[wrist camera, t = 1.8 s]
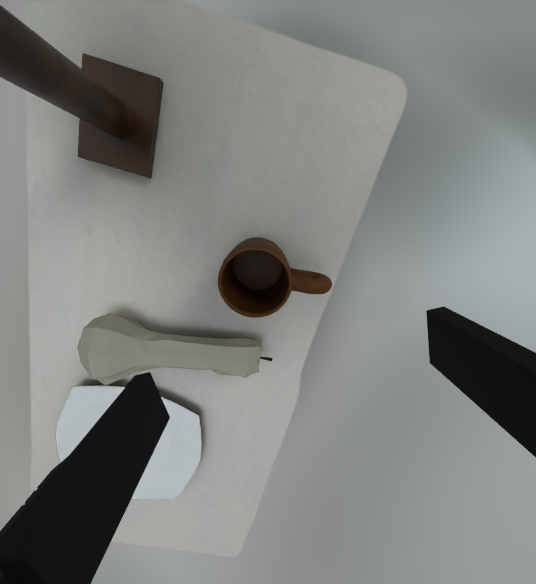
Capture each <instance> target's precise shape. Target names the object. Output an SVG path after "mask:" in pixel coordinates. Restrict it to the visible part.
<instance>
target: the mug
mask: <svg viewBox="0 0 536 584" xmlns="http://www.w3.org/2000/svg"><path fill="white" fill-rule="evenodd" d="M331 286H332V282H331V280H330V278H328V277H327V276H325V275H323V274H320V273H316V272H312V271H304V270H297V269H292V268H290V266H289V263H288V261H287V259H286V257H285V255H284V254H283V252H282V250H281V249H280V248H279V247H278V246H277V245H276V244H275V243H274V242H272V241H270V240H268V239H265V238H250V239H247V240H245V241H243V242H241V243H240V244H238V245H237V246H236V247H235V248H234V249H233V250H232V251H231V252H230V253H229V254H228V256H227V257H226V258H225V260H224V262H223V264H222V266H221V269H220V271H219V276H218V287H219V291H220V294H221V296H222V298H223V300H224V301H225V303H226V304H227V305H228V306H229V307H230V308H231V309H232V310H234V311H235V312H237V313H239V314H241V315H243V316H247V317H264V316H268V315H270V314H272V313H274V312H276V311H277V310H279V309H280V308H281V307H282V306H283V305H284V304H285V302H286V301H287V299H288V297H289V295H290V292H291V291H298V292H303V293H308V294H324V293H326V292H328V291H329V290H330V289H331Z"/></svg>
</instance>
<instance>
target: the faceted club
mask: <svg viewBox="0 0 536 584" xmlns="http://www.w3.org/2000/svg"><path fill="white" fill-rule="evenodd" d="M261 349H262V341H260V340H254V339H251V338H240V339H217V338H205V337H193V336H181V335H169V334H165V333H160V332H155V331H150V330H147V329H146V328H144V327H142V326H141V325H139V324H138V323H136V322H135V321H133V320H130V319H127V318H124V317H119V316H117V315H114V314H111V313H110V314H107V315H104V316H101V317H98V318H95V319H93V320H92V321H91V322H90V323H89V324H88V325H87V326H85V327H84V328H83V332H82V335H81V338H80V341H79V344H78V351H79V356H80V361H81V363H82V365H83V366H84V368H85V369H86V371H87V372H88V373H89V375H90V376H91V378H92V379H96V380H98V381H99V382H101V383H102V384H104V385H108V384H110V383H112V382H115V381H117V380H120V379H122V378H124V377H126V376H128V375H130V374H132V373H135V372H139V371H144V370H148V369H153V368H157V367H171V368H187V369H203V370H212V371H214V372H215V373H217V374H219V375H235V376H241V377H247V376H249V375H251V374H254V373H257V372H259V361H260V359H264V360H269V361H272V358H268V357H260V355H261Z"/></svg>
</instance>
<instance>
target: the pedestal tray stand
mask: <svg viewBox="0 0 536 584" xmlns="http://www.w3.org/2000/svg"><path fill="white" fill-rule="evenodd" d="M0 77H1V78H4V79H5V80H7V81H9V82H11V83H13V84H15V85H17V86H19V87H21V88H22V89H24V90H26V91H28V92H30V93H32V94H34V95H36V96H38V97H40V98H42V99H44V100H45V101H47V102H49V103H51V104H53V105H55V106H57V107H59V108H61V109H63V110H65V111H67V112H69V113H70V114H72V115H74V116H76V117H78V118H80V123H79V145H78V157H80V158H83V159H87V160H90V161H94V162H97V163H101V164H104V165H108V166H111V167H115V168H118V169H121V170H125V171H128V172H132V173H135V174H139V175H142V176H146V177H149V178H151V175H152V167H153V159H154V152H155V144H156V136H157V128H158V120H159V112H160V104H161V96H162V88H163V82H162V81H161V79H160V78H158V77H155V76H152V75H149V74H146V73H142V72H139V71H136V70H133V69H130V68H127V67H124V66H121V65H118V64H115V63H112V62H109V61H106V60H102V59H99V58H96V57H93V56H90V55H87V54H84V53H83V59H82V69H81V68H79V67H78V66H77V65H76V64H74V63H73V62H72V61H70V60H69V59H68V58H67V57H65V56H64V55H63V54H62V53H60V52H59V51H58V50H57V49H55V48H54V47H53V46H52V45H50V44H49V43H48V42H46V41H45V40H44V39H43V38H41V37H40V36H39V35H38V34H36V33H35V32H34V31H33V30H31V29H30V28H29V27H28V26H26V25H25V24H24V23H22V22H21V21H20V20H19V19H17V18H16V17H15V16H14V15H12V14H11V13H10V12H8V11H7V10H6V9H5V8H3V7H2V6H1V5H0Z"/></svg>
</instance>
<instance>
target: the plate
mask: <svg viewBox="0 0 536 584" xmlns="http://www.w3.org/2000/svg"><path fill="white" fill-rule="evenodd" d="M124 388H125V387H123V386H74V387H73V389H72V391H71V393H70V394H69V396H68V398H67V400H66V402H65V404H64V406H63V408H62V411H61V414H60V416H59V419H58V423H57V428H56V443H57V448H58V453H59V457H60V460H61V462H62V461H63V460H64V459H65V458H67V457H68V456H69V455H70V454H71V452H72V451H73V450H74V449H75V448H76V446H77V445H78V444H79V443H80V442H81V440H82V439H83V438H84V437H85V436H86V434H87V433H88V432H89V431H90V429H91V428H92V427H93V426H94V425H95V423H96V422H97V421H98V420H99V419H100V417H101V416H102V415H103V414H104V413H105V411H106V410H107V409H108V408H109V406H110V405H111V404H112V403H113V402H114V400H115V399H116V398H117V397H118V396H119V394H120V393H121V392H122V391H123V390H124ZM161 398H162V400H163V403H164V405H165V407H166V409H167V412H168V414H169V416H170V419H169V421H168V423H167V425H166V427H165V429H164V431H163V433H162V435H161V437H160V440H159V442H158V444H157V446H156V448H155V450H154V452H153V454H152V456H151V458H150V460H149V462H148V465H147V467H146V469H145V471H144V473H143V475H142V477H141V479H140V481H139V483H138V485H137V488H136V490H135V492H134V494H133V496H132V498H134V499H176V498H177V497H178V496H179V495H180V493H181V492H182V491H183V490H184V488H185V487H186V486H187V484H188V483H189V482H190V480H191V479H192V477H193V475H194V474H195V472H196V470H197V467H198V465H199V463H200V457H201V444H202V440H201V426H200V419H199V415H198V414H196V413H195V412H193V411H191V410H189V409H187V408H185V407H183V406H181V405H179V404H177V403H175V402H173V401H171V400H169V399H167V398H164V397H162V396H161Z"/></svg>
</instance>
